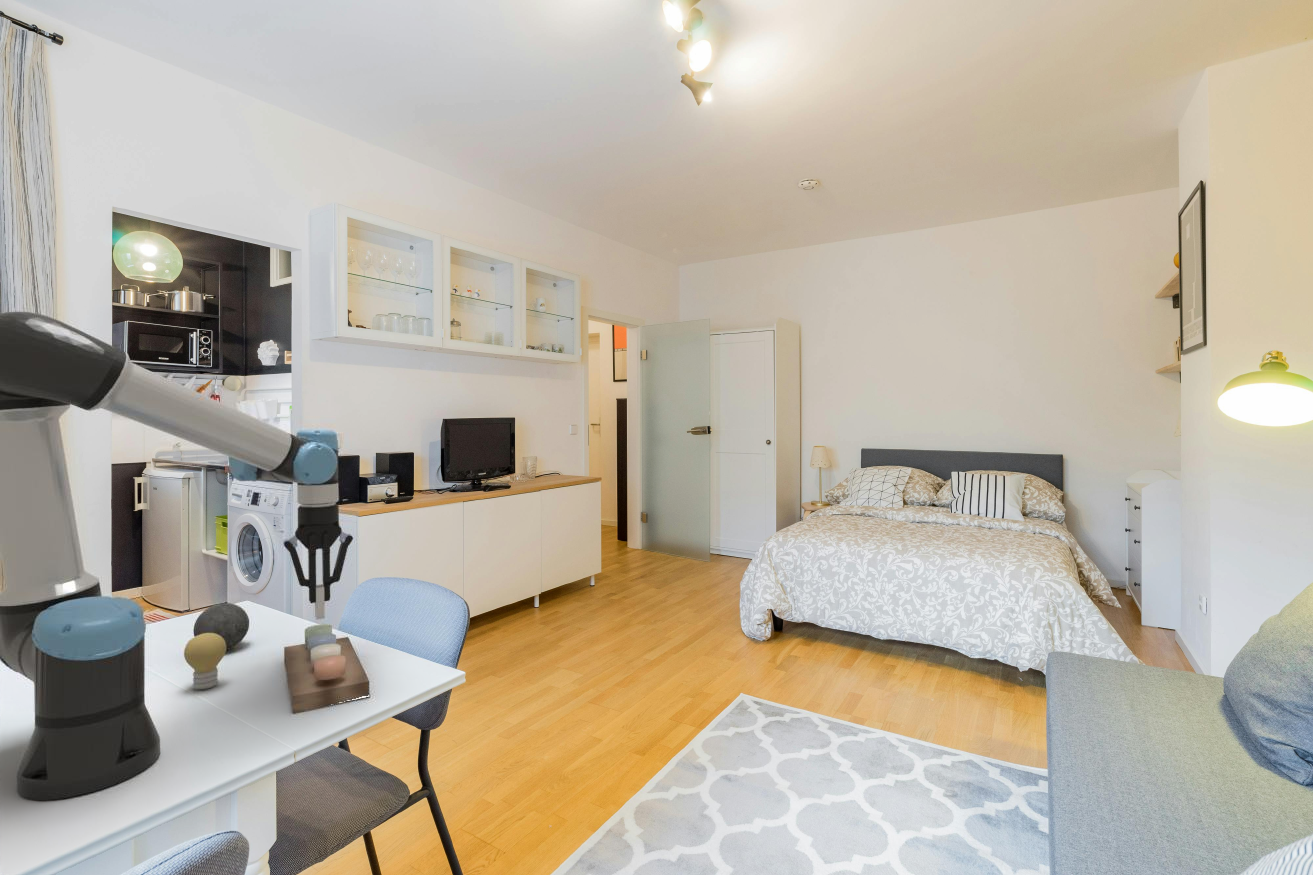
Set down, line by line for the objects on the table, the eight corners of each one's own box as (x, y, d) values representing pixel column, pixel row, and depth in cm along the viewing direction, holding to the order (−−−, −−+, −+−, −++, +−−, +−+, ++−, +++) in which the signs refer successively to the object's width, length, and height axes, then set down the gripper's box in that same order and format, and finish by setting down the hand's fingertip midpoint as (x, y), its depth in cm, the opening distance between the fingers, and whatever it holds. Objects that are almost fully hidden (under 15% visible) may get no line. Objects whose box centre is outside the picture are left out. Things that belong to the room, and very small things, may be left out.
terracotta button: (315, 681, 110) (315, 667, 110) (312, 672, 115) (312, 658, 115) (347, 675, 113) (347, 661, 113) (343, 666, 117) (343, 652, 117)
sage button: (305, 646, 128) (305, 633, 128) (303, 639, 132) (303, 626, 132) (333, 641, 131) (333, 629, 131) (330, 634, 135) (330, 622, 135)
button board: (292, 713, 108) (292, 695, 108) (284, 661, 131) (284, 646, 131) (369, 697, 114) (369, 680, 114) (348, 650, 138) (348, 636, 138)
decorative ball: (199, 645, 140) (199, 600, 140) (252, 639, 144) (252, 595, 144) (188, 660, 131) (187, 612, 131) (245, 653, 135) (245, 607, 135)
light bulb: (177, 689, 117) (176, 635, 117) (214, 677, 123) (214, 626, 122) (196, 696, 114) (195, 641, 114) (233, 684, 120) (233, 631, 119)
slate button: (308, 656, 122) (308, 643, 122) (306, 649, 126) (306, 636, 126) (337, 652, 125) (337, 638, 125) (334, 644, 129) (334, 631, 129)
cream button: (312, 668, 116) (311, 654, 116) (309, 660, 120) (309, 646, 120) (342, 663, 119) (342, 649, 119) (338, 655, 123) (338, 641, 123)
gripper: (350, 500, 138) (351, 607, 138) (280, 504, 130) (282, 617, 131) (355, 504, 131) (356, 616, 132) (282, 508, 124) (284, 627, 125)
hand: (319, 617), depth 132 cm, fingers closed
